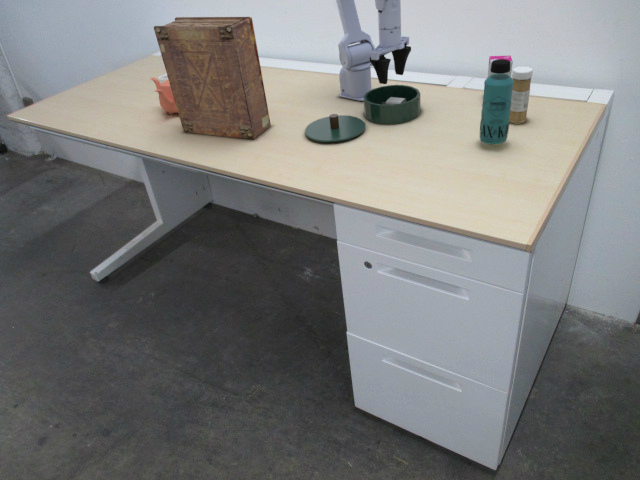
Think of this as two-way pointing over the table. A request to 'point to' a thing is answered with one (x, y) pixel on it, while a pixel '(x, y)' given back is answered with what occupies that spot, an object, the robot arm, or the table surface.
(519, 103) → the sprinkles bottle
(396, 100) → the usb wall charger
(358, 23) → the robot arm
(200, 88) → the book
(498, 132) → the beverage bottle
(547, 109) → the table surface
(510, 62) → the supplement box
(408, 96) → the pot
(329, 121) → the lid
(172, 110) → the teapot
